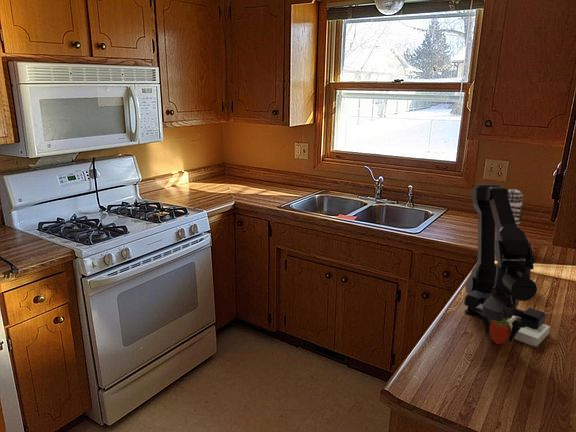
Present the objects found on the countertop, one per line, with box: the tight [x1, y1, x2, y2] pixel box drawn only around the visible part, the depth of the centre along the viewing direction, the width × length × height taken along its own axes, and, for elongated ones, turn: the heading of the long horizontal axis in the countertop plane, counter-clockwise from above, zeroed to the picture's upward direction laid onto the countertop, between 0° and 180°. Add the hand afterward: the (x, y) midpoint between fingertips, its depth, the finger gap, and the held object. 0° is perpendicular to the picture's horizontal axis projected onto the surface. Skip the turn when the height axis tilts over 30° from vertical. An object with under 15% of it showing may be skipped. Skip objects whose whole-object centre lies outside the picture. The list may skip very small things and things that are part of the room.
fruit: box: [489, 318, 511, 345], centre depth 119 cm, size 5×5×8 cm
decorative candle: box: [495, 188, 524, 240], centre depth 191 cm, size 9×9×25 cm
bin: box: [506, 315, 551, 348], centre depth 125 cm, size 9×9×2 cm
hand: (499, 337), depth 120 cm, fingers open, 6 cm apart
